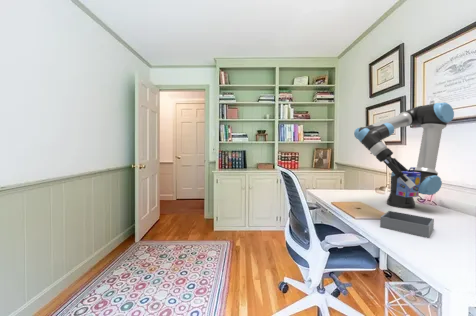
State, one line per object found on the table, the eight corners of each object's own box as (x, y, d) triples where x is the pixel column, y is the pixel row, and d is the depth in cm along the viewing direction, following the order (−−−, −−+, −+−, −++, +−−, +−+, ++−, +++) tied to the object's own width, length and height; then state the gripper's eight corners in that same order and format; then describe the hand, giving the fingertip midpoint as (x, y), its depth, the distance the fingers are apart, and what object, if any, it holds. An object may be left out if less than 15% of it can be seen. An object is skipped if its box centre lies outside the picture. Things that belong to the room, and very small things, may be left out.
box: (388, 220, 121) (389, 210, 121) (433, 229, 108) (433, 218, 108) (380, 227, 111) (380, 216, 110) (428, 238, 98) (429, 226, 97)
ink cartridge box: (406, 197, 111) (409, 167, 110) (395, 195, 116) (397, 166, 115) (419, 196, 114) (422, 167, 114) (408, 194, 119) (410, 166, 119)
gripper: (382, 156, 133) (413, 187, 123) (367, 157, 117) (402, 192, 107) (393, 147, 129) (427, 179, 118) (380, 146, 113) (417, 183, 103)
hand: (415, 185), depth 113 cm, fingers closed on ink cartridge box, 11 cm apart
